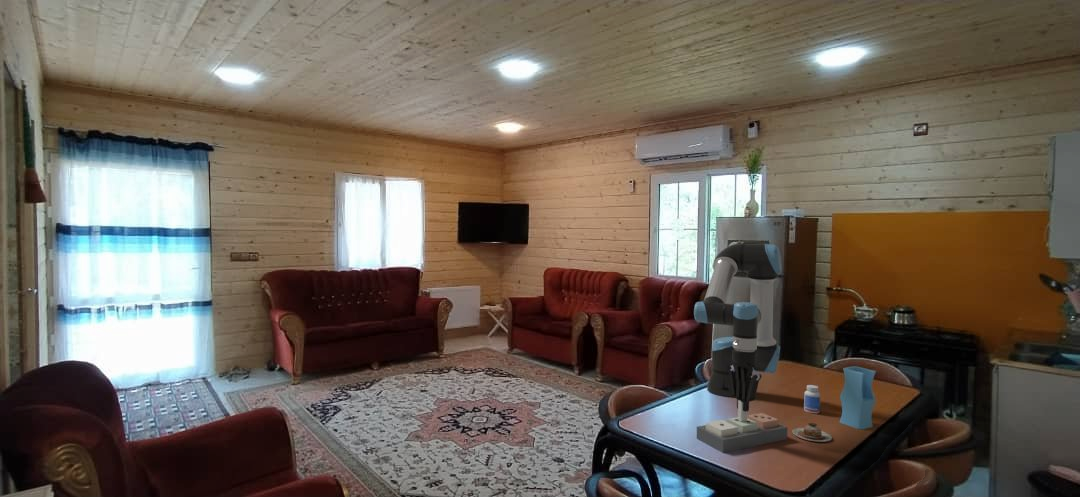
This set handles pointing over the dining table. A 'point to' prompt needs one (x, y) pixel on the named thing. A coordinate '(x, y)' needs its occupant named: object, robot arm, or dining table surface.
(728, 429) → the key
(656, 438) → the dining table surface
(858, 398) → the vase
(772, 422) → the key
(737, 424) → the key
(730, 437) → the keypad
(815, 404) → the pill bottle
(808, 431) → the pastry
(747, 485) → the dining table surface
